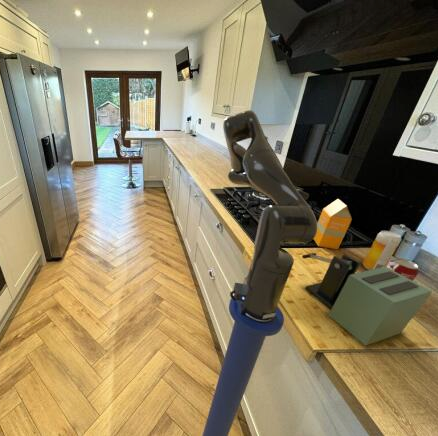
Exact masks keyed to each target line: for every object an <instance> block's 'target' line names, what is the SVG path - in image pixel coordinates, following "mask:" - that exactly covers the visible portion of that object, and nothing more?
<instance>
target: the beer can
mask: <svg viewBox="0 0 438 436" xmlns="http://www.w3.org/2000/svg"><path fill="white" fill-rule="evenodd" d="M401 242H402V235H400V234H398V233H396V232H394V231H389V230H381V231H380V232H379V233H377V235H376V237H375V239H374V241H373V242H372V245H371V246H370V248H369V250H368V252H367V253H366V255H365V257H364V258H363V261H362V265H363V267H364V268H365V269H366V270H367V271H369V270H373V269H377V268H381V267H386V266H387V264H388V263H389V262H390V261H391V258H392V257H393V255H394V253H395V252H396V250H397V249H398V247H399V245H400V243H401Z"/></svg>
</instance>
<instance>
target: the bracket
mask: <svg viewBox="0 0 438 436" xmlns="http://www.w3.org/2000/svg"><path fill="white" fill-rule="evenodd" d="M331 259H332V261H331V263H329V265H328V267H327V270H326V272H325V274H324V276H323V278H322V280H321V282H317V283H313V284H309V285H306V286H305V290H306V291H307V292H308V293H310V294H311V296H313V297H315V298H316V299H317V300H319V302H321V303H322V304H324V305H325V306H326V307H327V308H329V309H330V310H331V309H332V308H333V306H334V304H335V302H336V300H337V298H338V296H339V294H340V292H341V290H342V288H343V287H344V285H345V283H346V281H347V279H348V277H349V275H351V274H356V273H357V270H358V269H359V267H360V265H361V263H362V262H360V261H359V260H357V259H355V258H353V257H352V256H349V255H348V254H346V253H344V254H342V256H341V258H340V257H339V256H337V255H334V256H333V257H332V258H331ZM342 259H345V260H350V261H352V269H350V270H348V269H349V267H350V264H349V263H347V262H345V261H344V260H342Z"/></svg>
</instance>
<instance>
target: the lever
mask: <svg viewBox="0 0 438 436" xmlns="http://www.w3.org/2000/svg"><path fill="white" fill-rule="evenodd" d="M301 257H302V259H304V260H305V259H313V260H317V261H320V262H325V263H328V264H330V263H331V261H332V259H333V258H329V257H324V256H319V255H317V253H315V252H312V253H308V254H307V253H306V254H302V255H301ZM342 260H344V261H345V262H347V263H349V264H350V267H349V269H348V270H350V269H352V261H350V260H345V259H342Z"/></svg>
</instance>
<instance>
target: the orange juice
mask: <svg viewBox="0 0 438 436" xmlns="http://www.w3.org/2000/svg"><path fill="white" fill-rule="evenodd" d="M352 220H353V219H352V215H351V213H350V210H349V207H348V205H347V204H345V203H344V202H343V201H342V200H341V199H339V198H337V199H335V200H334V201H332V202H331V203H330V204H328V205H327V206H325V207H323V208H322V211H321V213H320V215H319V218H318V220H317V233H316V236H315V237H314V238H313V239H312V240H314V242H315V244H316V245H317V246H318V247H321V248H326V249H333V250H339V248H340V246H341V244H342V242H343V239H344V238H345V236H346V233H347V231H348V229H349V227H350V225H351V223H352Z"/></svg>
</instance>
